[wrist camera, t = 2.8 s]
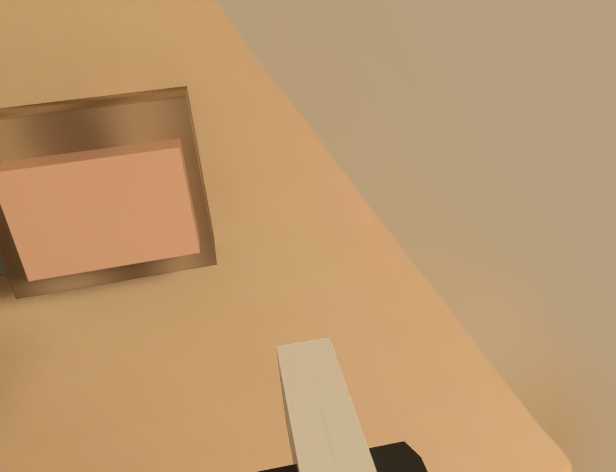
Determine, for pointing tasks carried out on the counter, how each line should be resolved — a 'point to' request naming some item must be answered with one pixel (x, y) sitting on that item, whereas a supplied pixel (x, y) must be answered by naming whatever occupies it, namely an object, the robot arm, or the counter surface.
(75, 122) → the brown wooden flat block
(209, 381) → the counter surface
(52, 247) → the salmon orange flat block
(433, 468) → the counter surface
